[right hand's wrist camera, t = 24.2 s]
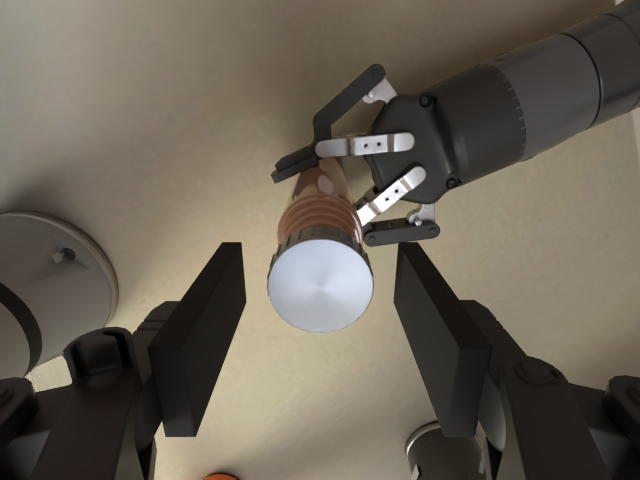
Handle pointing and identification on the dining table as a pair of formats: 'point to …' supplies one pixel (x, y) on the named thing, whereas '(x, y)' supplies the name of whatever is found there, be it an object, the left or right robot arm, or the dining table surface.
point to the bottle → (320, 202)
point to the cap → (320, 279)
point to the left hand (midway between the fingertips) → (289, 206)
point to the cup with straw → (219, 477)
